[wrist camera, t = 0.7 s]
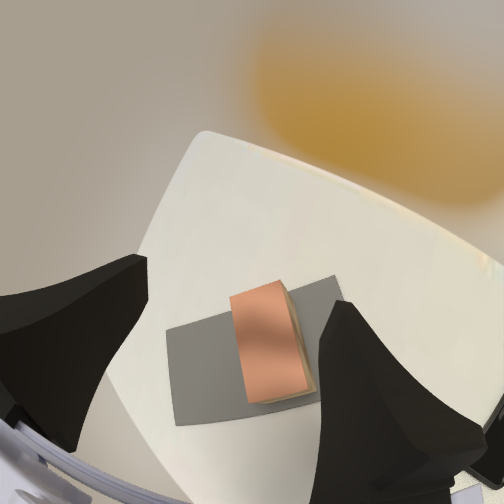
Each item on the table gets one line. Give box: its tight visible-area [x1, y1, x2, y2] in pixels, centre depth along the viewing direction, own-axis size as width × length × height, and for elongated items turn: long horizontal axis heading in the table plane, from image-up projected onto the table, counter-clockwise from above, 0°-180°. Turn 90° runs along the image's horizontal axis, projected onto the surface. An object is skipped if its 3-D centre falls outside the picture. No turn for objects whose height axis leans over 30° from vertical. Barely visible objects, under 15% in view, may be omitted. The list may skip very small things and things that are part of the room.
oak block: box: [230, 280, 317, 404], centre depth 25 cm, size 10×5×5 cm, turn 10°
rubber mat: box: [166, 275, 344, 426], centre depth 28 cm, size 12×21×1 cm, turn 100°
